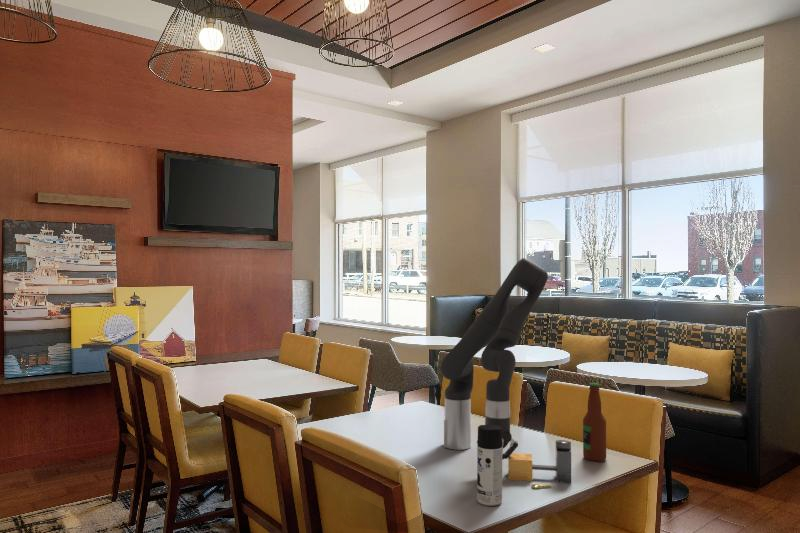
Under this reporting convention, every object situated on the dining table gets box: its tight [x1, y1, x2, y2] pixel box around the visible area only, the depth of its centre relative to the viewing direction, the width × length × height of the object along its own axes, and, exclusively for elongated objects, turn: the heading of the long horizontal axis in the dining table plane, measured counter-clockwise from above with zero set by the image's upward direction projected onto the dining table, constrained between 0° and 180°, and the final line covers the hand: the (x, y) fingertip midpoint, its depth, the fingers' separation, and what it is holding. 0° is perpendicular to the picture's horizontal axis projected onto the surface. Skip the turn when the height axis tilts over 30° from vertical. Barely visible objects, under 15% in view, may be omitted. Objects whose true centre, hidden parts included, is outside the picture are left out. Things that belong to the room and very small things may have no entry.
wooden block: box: [507, 452, 533, 482], centre depth 175 cm, size 7×6×6 cm
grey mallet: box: [532, 439, 572, 484], centre depth 173 cm, size 12×6×11 cm, turn 79°
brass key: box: [531, 483, 553, 490], centre depth 166 cm, size 6×2×1 cm, turn 99°
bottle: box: [582, 382, 607, 463], centre depth 192 cm, size 7×7×25 cm
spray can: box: [476, 424, 503, 507], centre depth 155 cm, size 7×7×20 cm
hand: (497, 471), depth 176 cm, fingers closed
